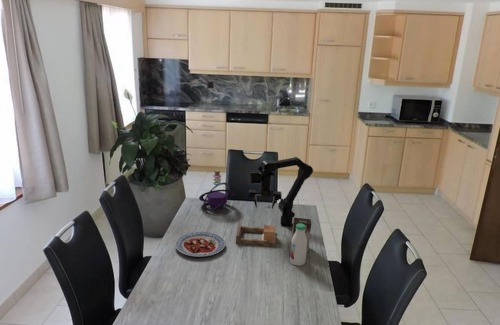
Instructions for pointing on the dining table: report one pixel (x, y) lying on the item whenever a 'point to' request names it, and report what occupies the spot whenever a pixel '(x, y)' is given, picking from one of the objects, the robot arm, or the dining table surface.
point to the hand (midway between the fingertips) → (264, 208)
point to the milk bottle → (298, 246)
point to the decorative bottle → (216, 194)
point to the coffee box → (307, 230)
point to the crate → (269, 232)
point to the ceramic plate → (200, 244)
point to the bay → (252, 241)
